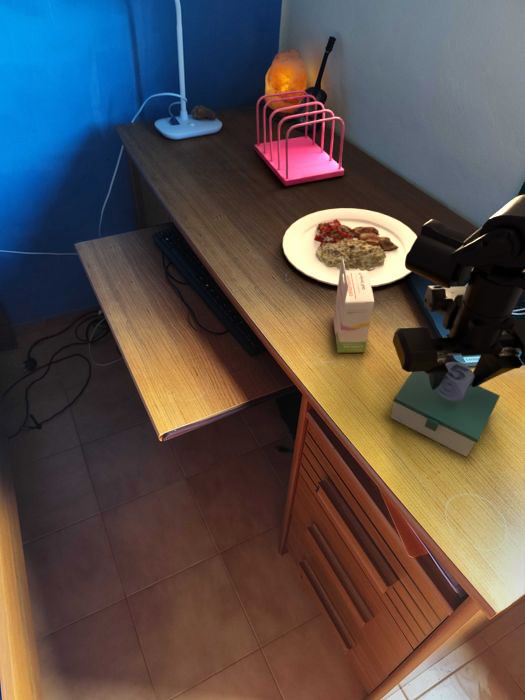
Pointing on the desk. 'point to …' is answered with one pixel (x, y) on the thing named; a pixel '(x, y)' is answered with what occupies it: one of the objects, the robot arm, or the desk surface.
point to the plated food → (349, 245)
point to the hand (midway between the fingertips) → (452, 385)
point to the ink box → (352, 310)
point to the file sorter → (299, 146)
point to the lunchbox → (443, 412)
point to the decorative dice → (456, 381)
